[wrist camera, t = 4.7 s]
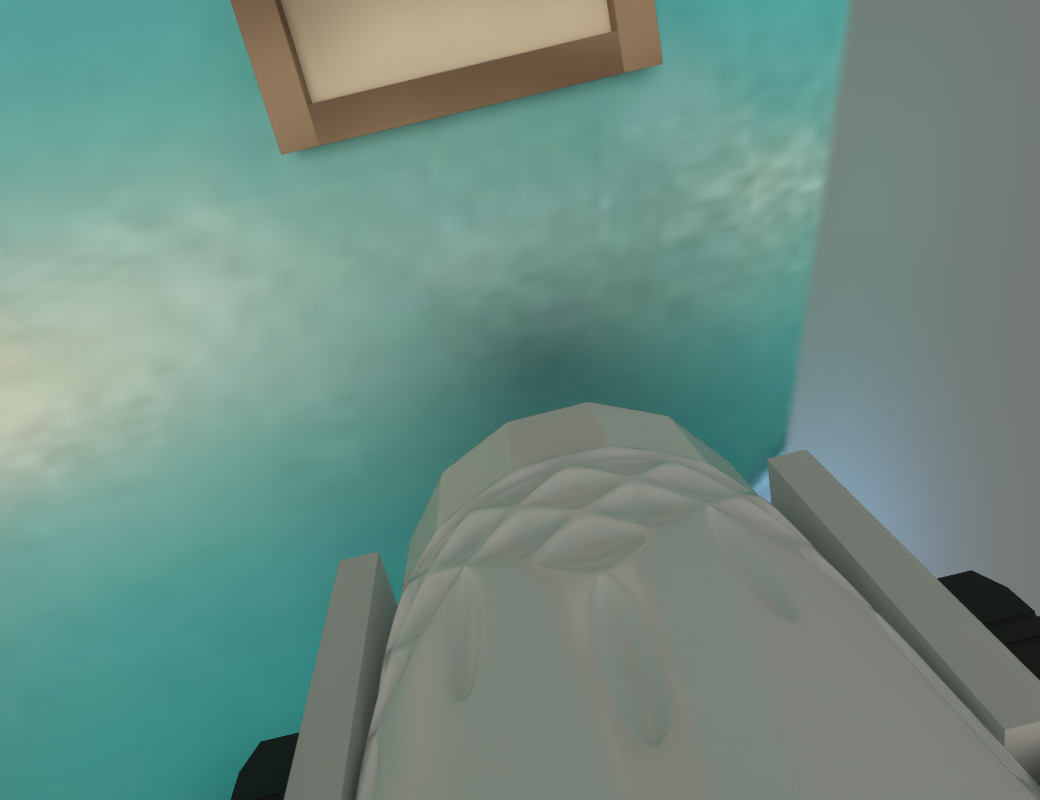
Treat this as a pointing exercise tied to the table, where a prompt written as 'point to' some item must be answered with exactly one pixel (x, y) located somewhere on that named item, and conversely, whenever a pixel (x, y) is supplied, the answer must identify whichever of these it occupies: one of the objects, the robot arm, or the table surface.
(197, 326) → the table surface
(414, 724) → the white cup
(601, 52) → the wooden divided tray
